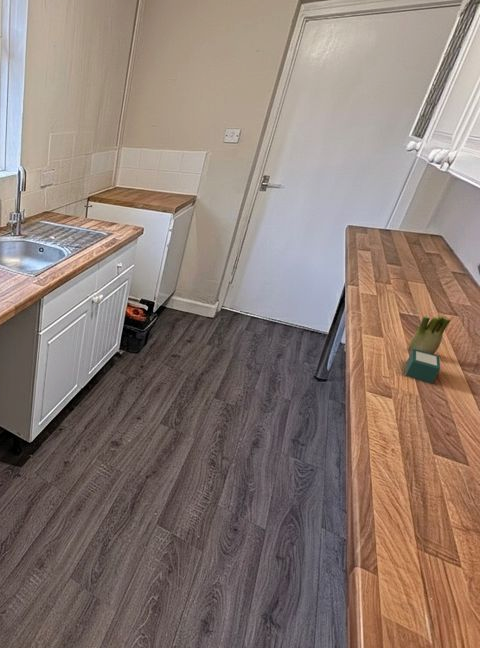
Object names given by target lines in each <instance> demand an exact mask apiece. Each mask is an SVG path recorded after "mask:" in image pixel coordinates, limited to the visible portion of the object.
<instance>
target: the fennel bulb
mask: <svg viewBox="0 0 480 648" xmlns="http://www.w3.org/2000/svg"><path fill="white" fill-rule="evenodd" d="M451 321H452V320H451V319H450V318H448V317H444V316H440V315H438V316H433V317H432V318H431V317H429V316H428V315H424V316H423V317H422V319H421V322H420V324H419V326H418V328H417V330H416V331H415V333H414V334H413V336H412V338H411V340H410V342H409V346H408V351H409V352H410V353H411V352H412V350H413V349H416V350H419V351H423V352H427V353H431V354H435V353H437V351H438V349H439V348H440V345H441V344H442V343H441V342H442V340H443V336H444V333H445V330H446V328H448V325H449V324H450V322H451Z"/></svg>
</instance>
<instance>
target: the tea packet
mask: <svg viewBox="0 0 480 648" xmlns="http://www.w3.org/2000/svg"><path fill="white" fill-rule="evenodd" d="M440 371H441V361H440V355H439V354H435V353H434V354H431V353H427V352H423V351H419V350H416V349H413V350H412V352H411V351H410V354H409V356H408V358H407V359H406V362H405V373H404V374H405V377H409V378H411V379H414V380H419V381H422V382H425V383H428V384H433V383H434V382H435V380H436V378H437V376H438V374H439V372H440Z"/></svg>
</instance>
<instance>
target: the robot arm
mask: <svg viewBox="0 0 480 648" xmlns="http://www.w3.org/2000/svg"><path fill="white" fill-rule="evenodd" d="M476 266H477V270H478V274H479V275H480V263H477V265H476Z"/></svg>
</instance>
